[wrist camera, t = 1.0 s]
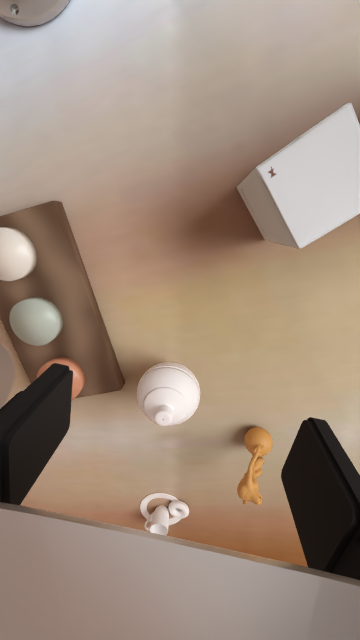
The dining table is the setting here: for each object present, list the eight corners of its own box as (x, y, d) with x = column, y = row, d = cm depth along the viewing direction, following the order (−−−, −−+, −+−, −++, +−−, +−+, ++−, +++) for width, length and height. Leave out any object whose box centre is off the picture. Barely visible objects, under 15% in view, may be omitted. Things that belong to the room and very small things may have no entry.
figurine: (265, 454, 45) (286, 532, 33) (227, 450, 45) (235, 527, 34) (273, 410, 42) (298, 480, 30) (232, 407, 42) (242, 474, 31)
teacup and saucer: (190, 494, 49) (189, 517, 45) (186, 525, 52) (184, 550, 48) (141, 487, 50) (136, 509, 46) (139, 519, 52) (134, 542, 48)
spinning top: (142, 346, 40) (117, 394, 29) (194, 336, 39) (190, 382, 28) (156, 391, 42) (138, 452, 31) (205, 383, 41) (206, 443, 30)
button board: (47, 396, 44) (41, 404, 42) (-29, 228, 36) (-42, 228, 35) (124, 382, 42) (121, 389, 40) (61, 201, 34) (53, 200, 33)
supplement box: (264, 242, 34) (296, 253, 22) (234, 186, 32) (252, 165, 20) (322, 206, 32) (391, 197, 20) (294, 145, 31) (352, 96, 19)
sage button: (9, 321, 36) (1, 325, 35) (31, 287, 35) (23, 290, 33) (47, 349, 37) (41, 354, 36) (71, 317, 36) (65, 321, 34)
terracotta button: (35, 377, 39) (28, 383, 38) (57, 348, 37) (51, 353, 36) (70, 402, 40) (65, 409, 38) (93, 375, 38) (89, 381, 37)
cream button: (-21, 256, 34) (-31, 258, 32) (1, 216, 32) (-9, 215, 31) (21, 288, 35) (13, 291, 33) (45, 250, 33) (38, 252, 32)
